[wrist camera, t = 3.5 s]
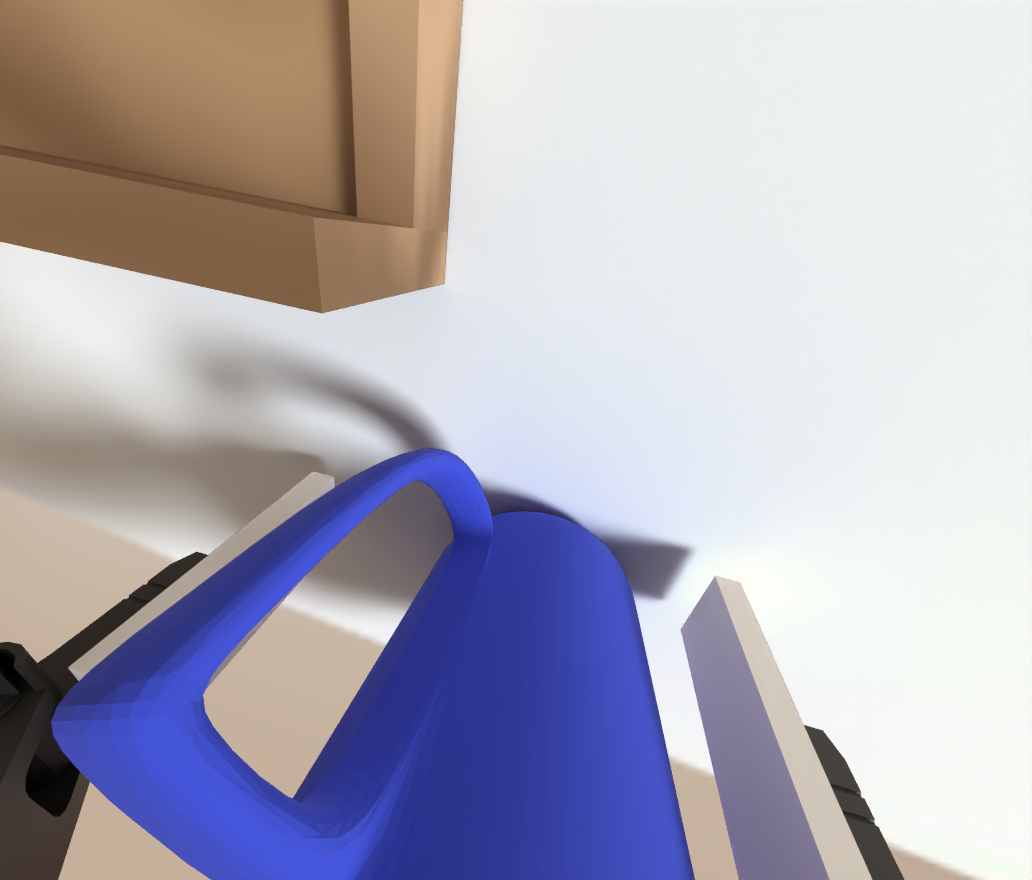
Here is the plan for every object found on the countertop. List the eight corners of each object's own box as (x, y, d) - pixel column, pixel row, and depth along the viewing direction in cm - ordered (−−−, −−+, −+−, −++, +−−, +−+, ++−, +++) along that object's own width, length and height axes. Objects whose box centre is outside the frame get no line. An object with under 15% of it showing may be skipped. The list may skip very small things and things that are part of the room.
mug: (567, 329, 10) (336, 1128, 1) (672, 628, 14) (804, 1250, 5) (337, 419, 12) (-273, 832, 4) (486, 646, 17) (372, 1076, 8)
